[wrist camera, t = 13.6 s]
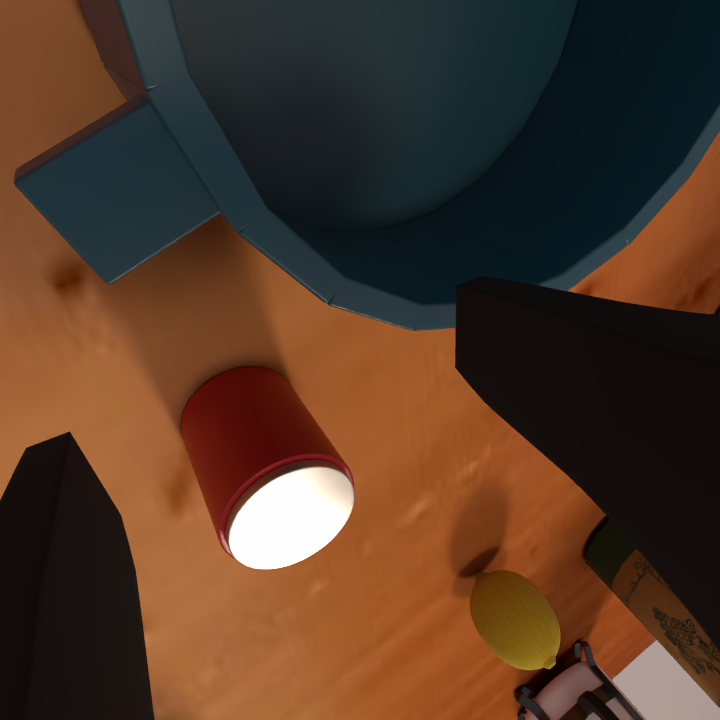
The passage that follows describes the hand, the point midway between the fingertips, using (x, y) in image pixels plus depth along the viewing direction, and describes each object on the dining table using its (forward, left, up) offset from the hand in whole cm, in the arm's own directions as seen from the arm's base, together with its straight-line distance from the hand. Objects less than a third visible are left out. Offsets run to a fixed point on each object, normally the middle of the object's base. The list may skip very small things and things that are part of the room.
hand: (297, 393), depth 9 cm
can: (+8, -3, -10) cm, 13 cm away
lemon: (+36, +3, -11) cm, 37 cm away
